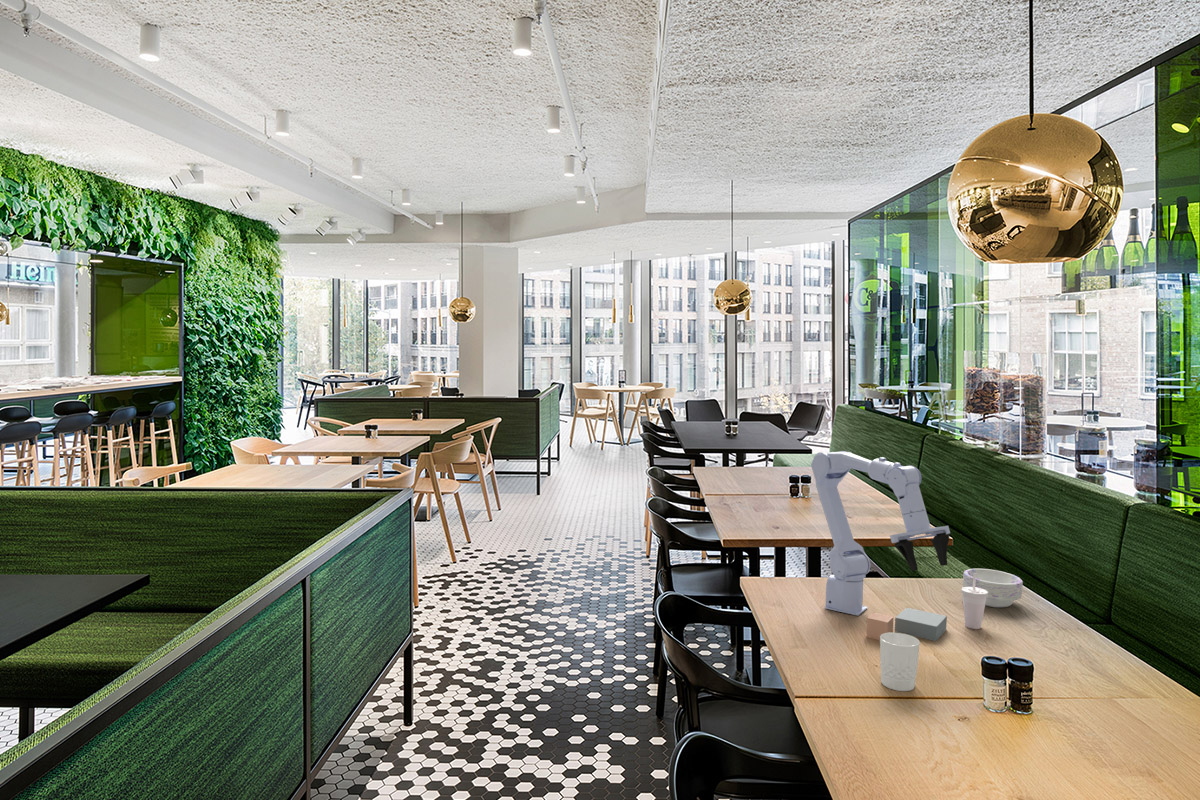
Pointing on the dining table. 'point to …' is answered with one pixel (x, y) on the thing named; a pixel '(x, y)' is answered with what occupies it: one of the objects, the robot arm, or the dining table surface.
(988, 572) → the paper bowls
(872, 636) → the terracotta block
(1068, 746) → the dining table surface
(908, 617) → the slate plinth
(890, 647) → the white cup
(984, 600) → the smoothie
